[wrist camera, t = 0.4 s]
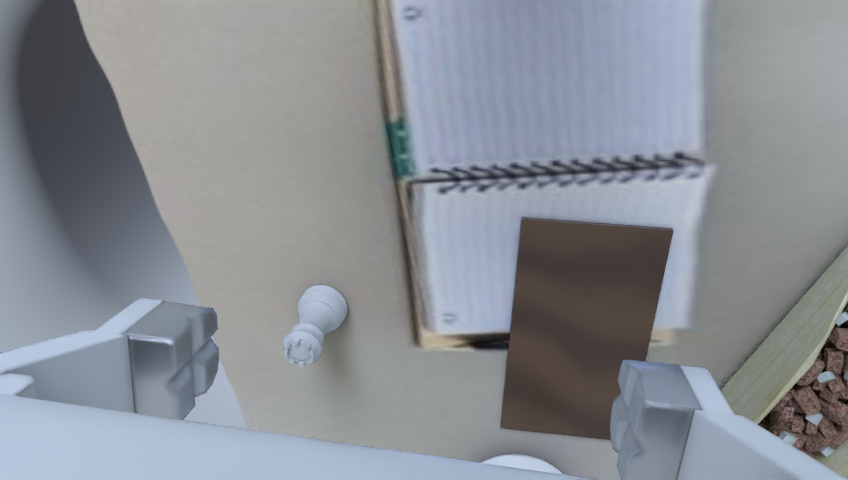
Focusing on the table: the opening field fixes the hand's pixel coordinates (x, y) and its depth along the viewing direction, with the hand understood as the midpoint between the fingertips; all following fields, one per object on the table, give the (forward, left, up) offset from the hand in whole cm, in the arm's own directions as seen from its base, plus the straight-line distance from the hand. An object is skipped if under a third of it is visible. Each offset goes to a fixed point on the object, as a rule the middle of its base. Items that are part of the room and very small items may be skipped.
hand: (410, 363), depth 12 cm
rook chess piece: (+23, -13, -38) cm, 46 cm away
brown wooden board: (+24, +10, -38) cm, 46 cm away
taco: (+23, +27, -38) cm, 52 cm away
